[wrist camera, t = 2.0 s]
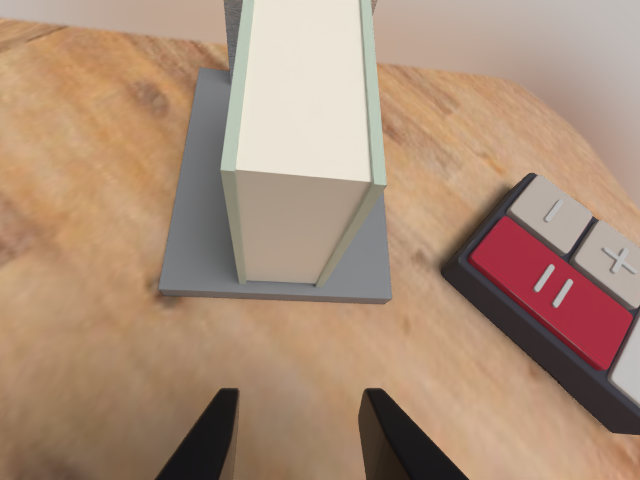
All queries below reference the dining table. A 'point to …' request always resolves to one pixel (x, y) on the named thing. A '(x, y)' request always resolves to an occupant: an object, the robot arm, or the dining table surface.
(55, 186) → the dining table surface
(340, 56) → the book
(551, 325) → the calculator
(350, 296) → the shelf board
